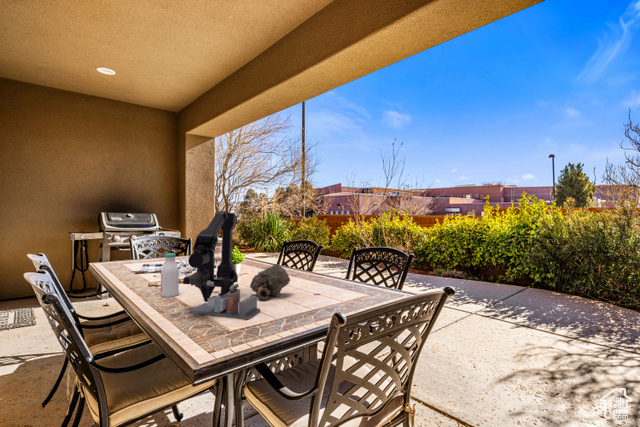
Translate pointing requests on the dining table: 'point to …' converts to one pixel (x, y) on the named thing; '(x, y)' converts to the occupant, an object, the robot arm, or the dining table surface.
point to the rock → (270, 281)
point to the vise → (245, 311)
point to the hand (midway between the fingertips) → (206, 301)
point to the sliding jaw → (218, 302)
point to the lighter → (233, 299)
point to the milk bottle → (169, 277)
